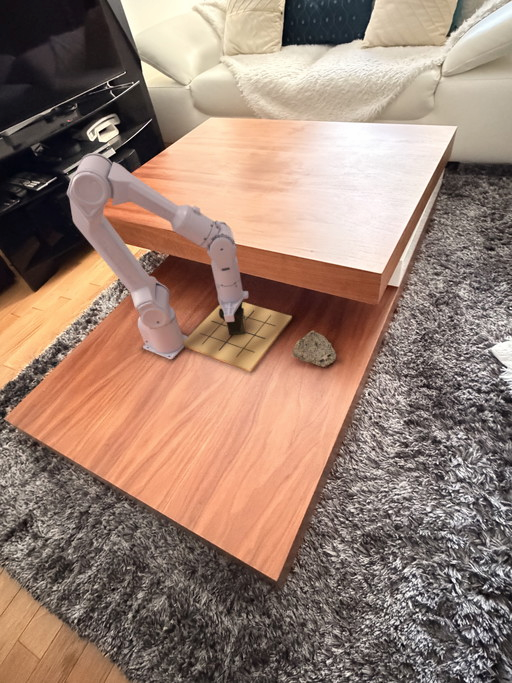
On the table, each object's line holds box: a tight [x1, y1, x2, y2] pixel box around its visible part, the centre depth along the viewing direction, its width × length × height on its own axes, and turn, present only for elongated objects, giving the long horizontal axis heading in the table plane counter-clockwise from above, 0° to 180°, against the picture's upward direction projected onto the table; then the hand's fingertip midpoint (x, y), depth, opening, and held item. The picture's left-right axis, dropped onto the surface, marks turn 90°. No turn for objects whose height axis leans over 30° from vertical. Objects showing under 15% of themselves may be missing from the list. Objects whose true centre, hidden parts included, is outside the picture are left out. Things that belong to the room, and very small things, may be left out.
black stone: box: [227, 308, 246, 335], centre depth 94 cm, size 4×4×5 cm
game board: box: [183, 301, 293, 373], centre depth 96 cm, size 20×20×1 cm
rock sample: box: [291, 330, 338, 368], centre depth 86 cm, size 10×8×9 cm
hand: (236, 325), depth 95 cm, fingers closed on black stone, 4 cm apart
